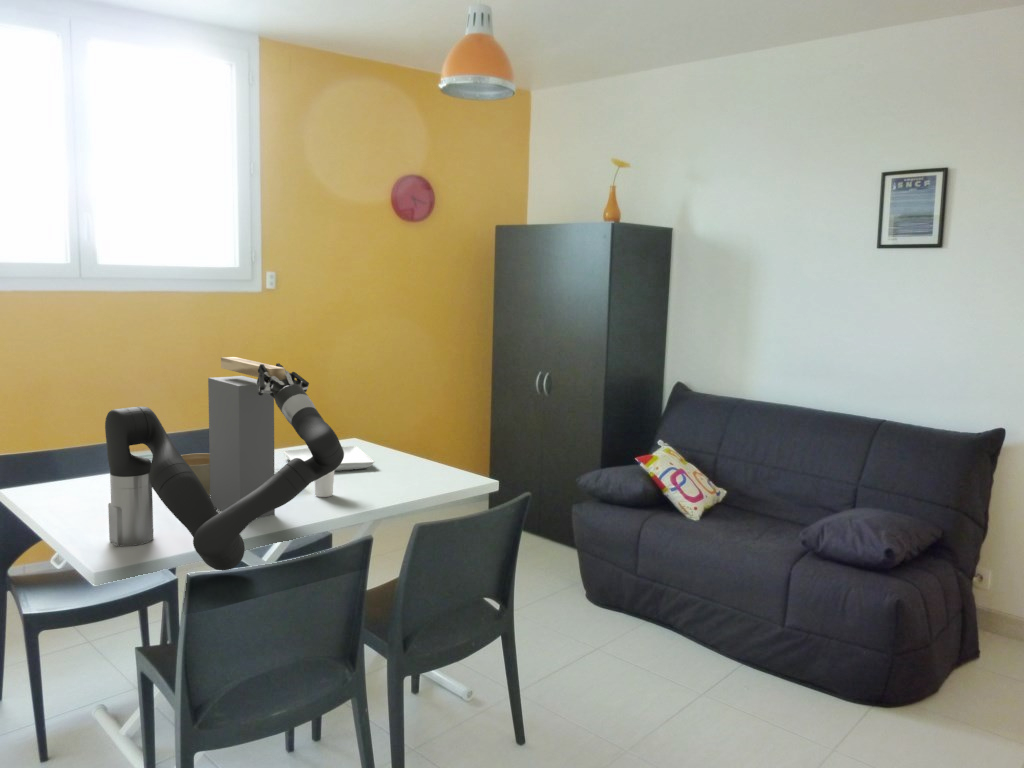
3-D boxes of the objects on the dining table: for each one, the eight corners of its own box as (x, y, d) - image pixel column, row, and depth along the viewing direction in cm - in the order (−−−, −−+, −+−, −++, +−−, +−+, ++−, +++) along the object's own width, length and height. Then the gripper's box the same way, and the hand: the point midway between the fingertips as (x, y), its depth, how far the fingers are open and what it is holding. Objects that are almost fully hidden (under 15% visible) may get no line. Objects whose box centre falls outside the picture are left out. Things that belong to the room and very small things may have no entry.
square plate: (282, 459, 288) (282, 449, 288) (356, 454, 300) (356, 444, 299) (295, 477, 264) (295, 465, 264) (375, 471, 276) (375, 460, 275)
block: (270, 380, 202) (270, 368, 202) (221, 368, 224) (220, 357, 223) (285, 379, 205) (285, 368, 204) (234, 367, 226) (234, 356, 226)
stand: (240, 521, 214) (238, 385, 209) (210, 505, 228) (208, 377, 223) (274, 515, 221) (273, 383, 216) (243, 499, 235) (242, 375, 230)
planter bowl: (193, 484, 249) (193, 451, 248) (237, 490, 244) (236, 456, 243) (156, 497, 234) (155, 461, 233) (201, 503, 229) (201, 467, 228)
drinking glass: (308, 494, 242) (308, 446, 240) (327, 491, 247) (327, 444, 245) (320, 499, 237) (320, 450, 235) (339, 496, 242) (339, 447, 240)
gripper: (266, 421, 194) (239, 379, 204) (318, 415, 204) (290, 376, 213) (273, 397, 190) (245, 355, 200) (326, 392, 200) (297, 353, 210)
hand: (269, 366), depth 207 cm, fingers closed on block, 4 cm apart
